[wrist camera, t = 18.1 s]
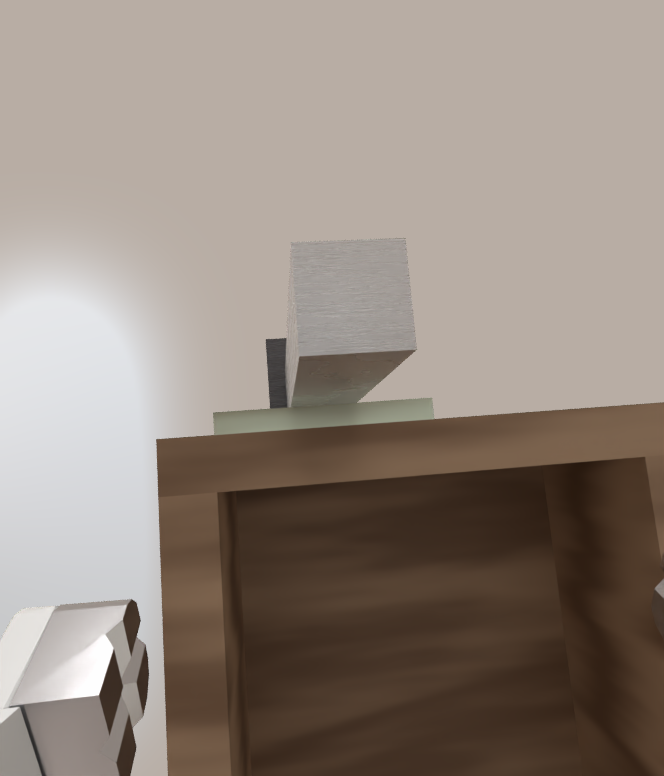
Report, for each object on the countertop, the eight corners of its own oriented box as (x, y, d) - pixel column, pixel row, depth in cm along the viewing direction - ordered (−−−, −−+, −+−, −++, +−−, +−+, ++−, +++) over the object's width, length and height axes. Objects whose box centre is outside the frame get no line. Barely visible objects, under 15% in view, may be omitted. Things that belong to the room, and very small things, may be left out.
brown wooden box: (821, 1200, 18) (681, 380, 21) (187, 1354, 16) (155, 416, 19) (628, 940, 28) (555, 408, 31) (223, 1013, 25) (197, 434, 29)
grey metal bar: (454, 347, 11) (434, 166, 12) (258, 359, 11) (247, 171, 11) (341, 426, 32) (336, 359, 33) (272, 431, 32) (268, 363, 32)
